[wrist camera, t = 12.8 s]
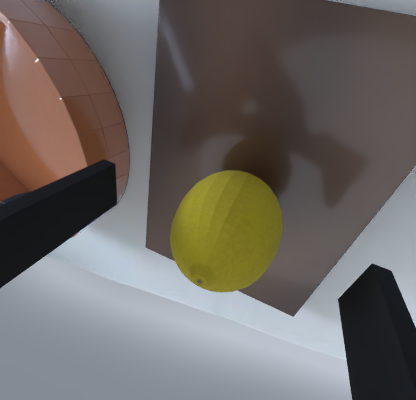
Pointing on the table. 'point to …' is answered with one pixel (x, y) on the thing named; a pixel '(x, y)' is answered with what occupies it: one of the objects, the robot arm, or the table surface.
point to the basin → (53, 102)
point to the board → (284, 121)
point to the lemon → (226, 231)
